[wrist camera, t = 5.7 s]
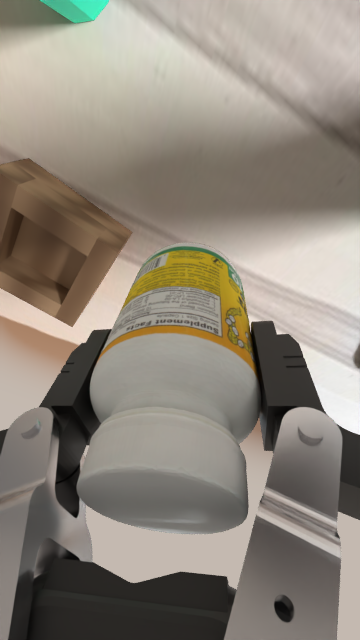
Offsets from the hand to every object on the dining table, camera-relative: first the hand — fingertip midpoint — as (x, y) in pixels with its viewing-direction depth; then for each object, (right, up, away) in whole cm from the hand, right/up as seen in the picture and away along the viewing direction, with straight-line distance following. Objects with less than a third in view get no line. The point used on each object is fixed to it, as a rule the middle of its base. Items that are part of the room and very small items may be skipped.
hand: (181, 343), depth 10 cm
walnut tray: (-14, +10, +21) cm, 27 cm away
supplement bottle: (0, +3, +3) cm, 4 cm away
